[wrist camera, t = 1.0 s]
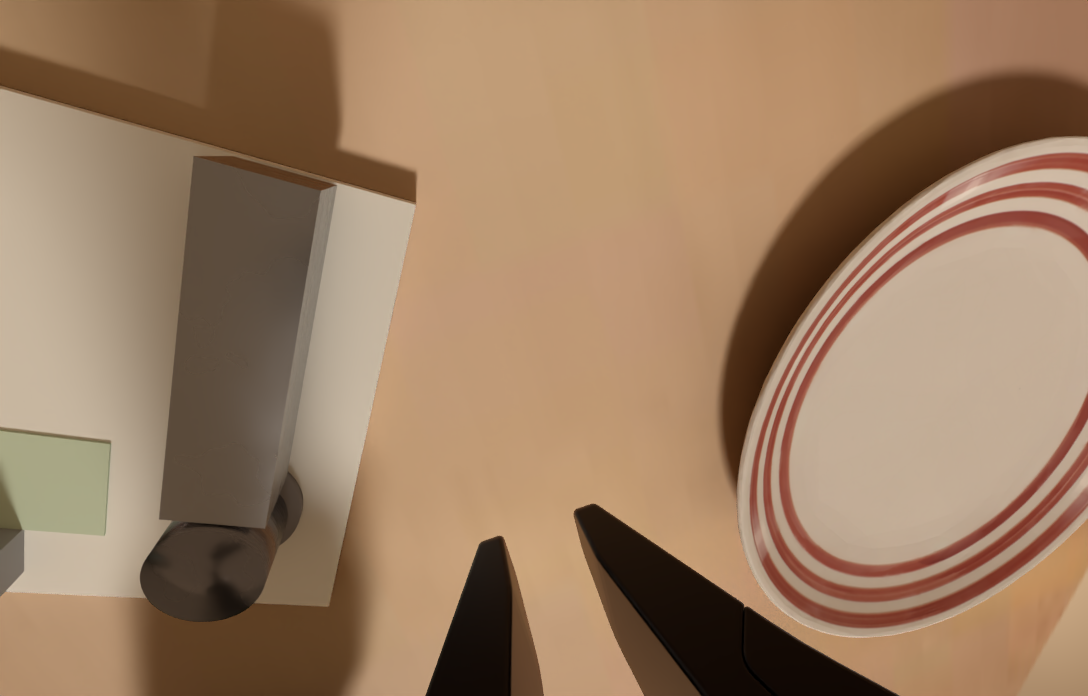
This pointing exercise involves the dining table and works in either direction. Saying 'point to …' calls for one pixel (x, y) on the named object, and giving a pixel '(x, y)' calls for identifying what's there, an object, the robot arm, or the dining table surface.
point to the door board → (153, 353)
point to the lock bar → (236, 382)
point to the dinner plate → (930, 405)
